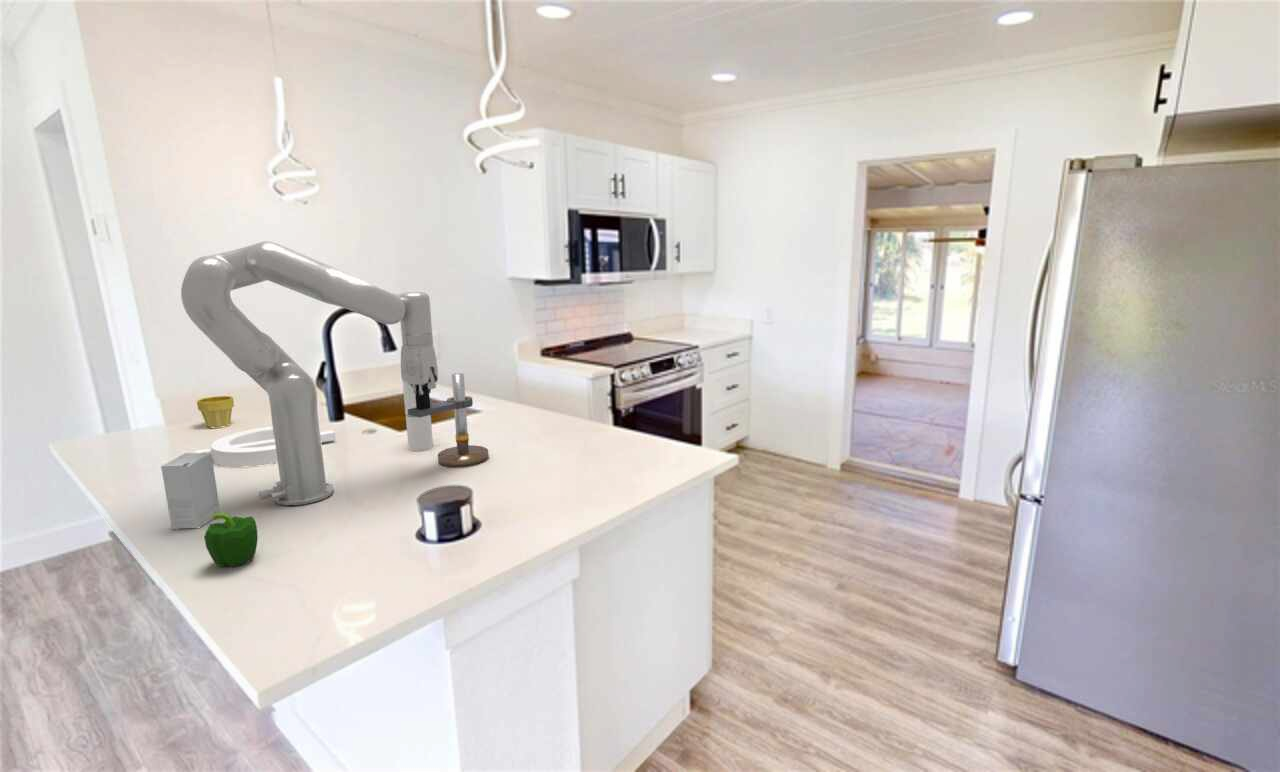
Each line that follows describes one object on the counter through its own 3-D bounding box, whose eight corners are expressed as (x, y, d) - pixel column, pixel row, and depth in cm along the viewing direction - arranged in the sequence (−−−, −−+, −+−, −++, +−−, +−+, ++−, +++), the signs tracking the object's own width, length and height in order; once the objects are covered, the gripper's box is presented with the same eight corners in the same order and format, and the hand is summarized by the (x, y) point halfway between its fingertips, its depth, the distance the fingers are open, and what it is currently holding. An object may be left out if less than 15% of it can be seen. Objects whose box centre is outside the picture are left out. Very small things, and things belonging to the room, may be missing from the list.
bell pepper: (271, 551, 119) (265, 504, 117) (243, 572, 111) (235, 522, 109) (230, 550, 119) (223, 503, 117) (199, 571, 111) (190, 521, 109)
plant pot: (235, 420, 217) (231, 394, 215) (238, 426, 209) (234, 399, 207) (200, 425, 211) (195, 398, 209) (201, 431, 203) (197, 403, 201)
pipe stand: (459, 470, 164) (453, 381, 158) (427, 461, 171) (420, 375, 166) (498, 457, 175) (493, 373, 170) (467, 448, 183) (461, 368, 178)
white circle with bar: (188, 465, 170) (186, 449, 169) (265, 437, 197) (263, 423, 196) (274, 471, 165) (272, 454, 164) (341, 441, 192) (340, 427, 191)
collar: (421, 418, 156) (421, 411, 155) (406, 415, 160) (405, 408, 159) (477, 404, 171) (476, 398, 170) (461, 401, 174) (461, 395, 174)
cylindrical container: (437, 444, 187) (430, 365, 182) (426, 451, 180) (420, 370, 175) (415, 443, 188) (408, 365, 183) (404, 450, 181) (396, 369, 176)
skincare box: (194, 514, 136) (184, 452, 133) (222, 513, 137) (212, 451, 134) (170, 531, 128) (158, 464, 125) (200, 529, 129) (189, 463, 126)
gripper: (387, 339, 157) (394, 407, 161) (423, 343, 149) (429, 415, 153) (412, 336, 163) (418, 402, 167) (447, 340, 155) (453, 409, 159)
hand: (423, 408), depth 160 cm, fingers closed
